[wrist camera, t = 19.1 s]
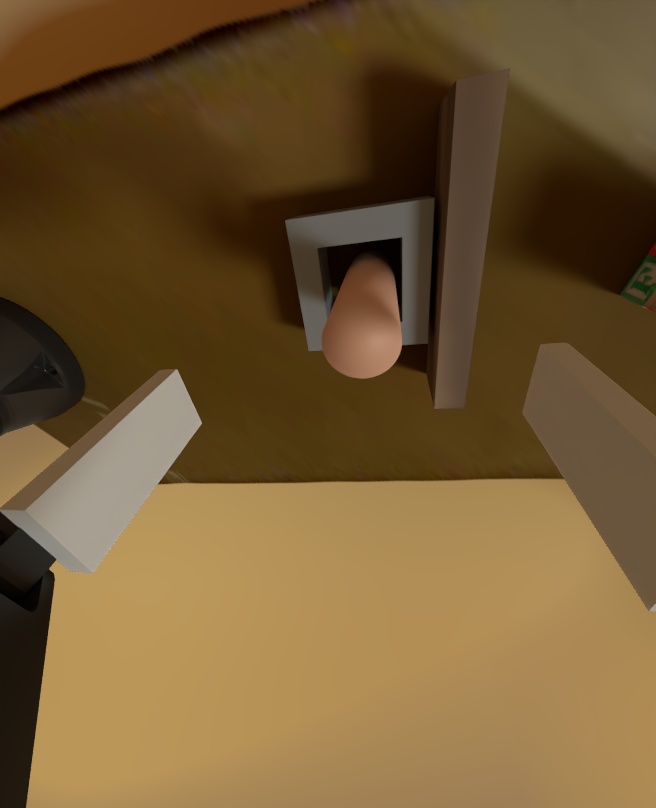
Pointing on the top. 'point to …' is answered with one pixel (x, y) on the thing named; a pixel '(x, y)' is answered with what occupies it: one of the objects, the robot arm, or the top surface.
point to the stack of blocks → (643, 283)
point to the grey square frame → (358, 226)
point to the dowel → (364, 319)
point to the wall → (461, 227)
